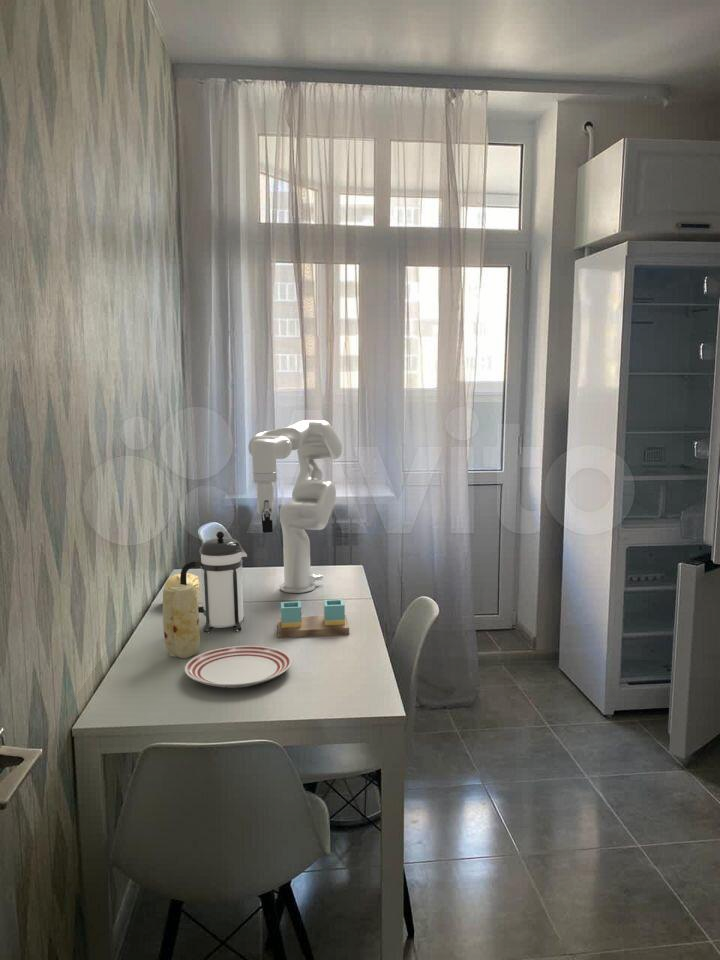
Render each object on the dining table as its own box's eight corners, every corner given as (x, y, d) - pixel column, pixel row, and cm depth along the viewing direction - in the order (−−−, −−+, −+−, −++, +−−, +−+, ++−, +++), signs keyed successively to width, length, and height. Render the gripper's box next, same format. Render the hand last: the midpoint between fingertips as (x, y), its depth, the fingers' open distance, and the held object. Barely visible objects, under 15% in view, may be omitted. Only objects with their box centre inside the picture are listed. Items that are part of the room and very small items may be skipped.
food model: (201, 649, 212) (197, 581, 209) (200, 658, 205) (197, 587, 202) (165, 652, 210) (161, 583, 207) (163, 661, 204) (159, 590, 201)
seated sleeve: (301, 620, 229) (300, 601, 228) (301, 626, 223) (301, 607, 223) (281, 621, 229) (280, 602, 228) (281, 627, 223) (280, 608, 222)
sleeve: (343, 617, 231) (342, 599, 230) (344, 624, 225) (344, 605, 224) (323, 618, 230) (323, 600, 229) (325, 625, 224) (324, 606, 223)
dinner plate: (199, 654, 209) (198, 643, 208) (297, 654, 208) (296, 642, 207) (172, 697, 181) (172, 684, 181) (285, 696, 181) (284, 683, 180)
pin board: (345, 620, 234) (345, 599, 233) (349, 634, 222) (348, 611, 221) (278, 624, 232) (277, 602, 231) (278, 637, 220) (277, 614, 219)
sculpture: (196, 608, 249) (194, 577, 247) (160, 609, 249) (158, 577, 247) (204, 598, 260) (202, 568, 258) (169, 598, 260) (168, 568, 259)
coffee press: (228, 614, 242) (224, 524, 237) (258, 626, 230) (254, 531, 226) (181, 628, 230) (176, 532, 225) (210, 641, 218) (205, 540, 214)
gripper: (253, 473, 249) (255, 523, 252) (253, 482, 232) (256, 535, 235) (275, 472, 250) (277, 522, 253) (277, 481, 233) (280, 534, 236)
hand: (267, 528), depth 244 cm, fingers open, 9 cm apart
